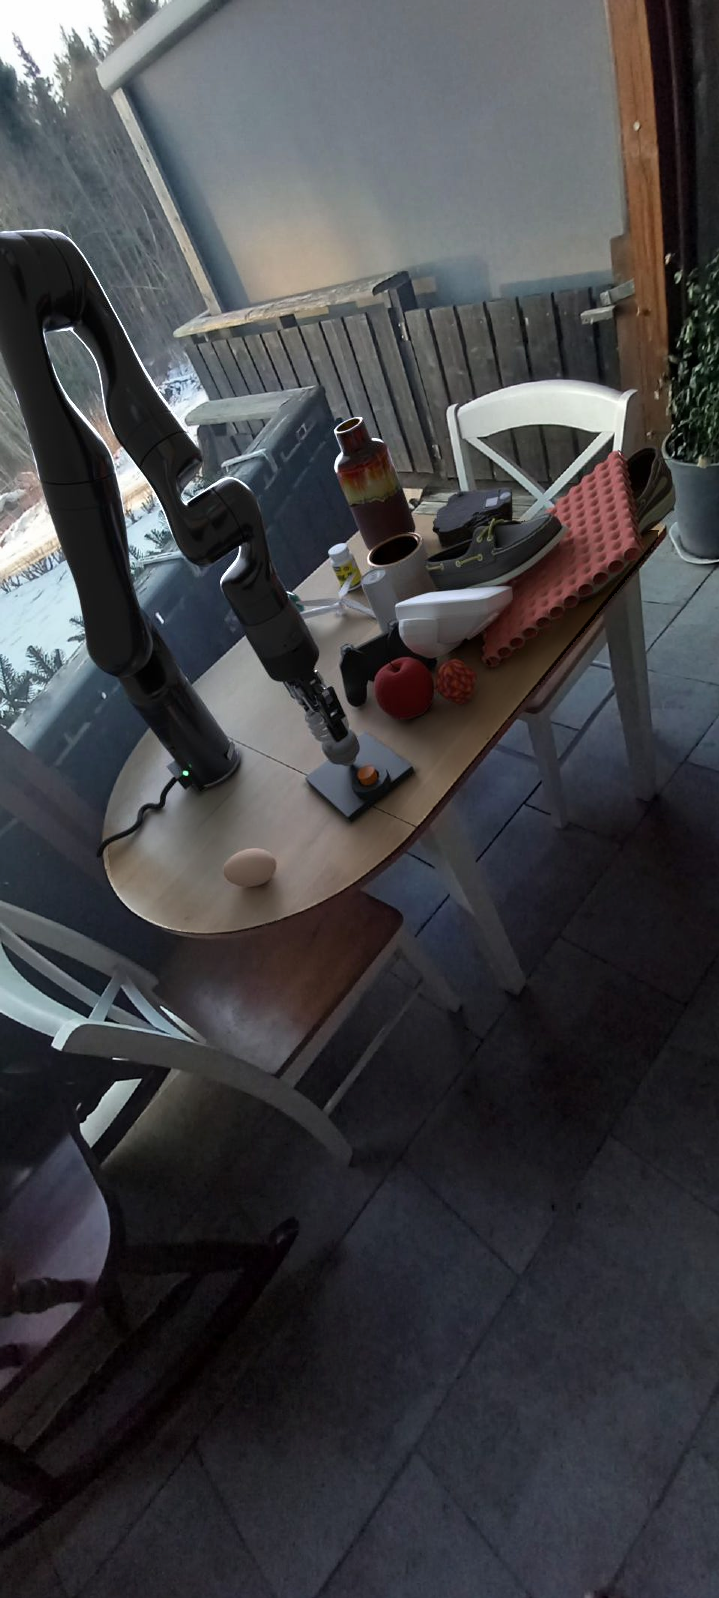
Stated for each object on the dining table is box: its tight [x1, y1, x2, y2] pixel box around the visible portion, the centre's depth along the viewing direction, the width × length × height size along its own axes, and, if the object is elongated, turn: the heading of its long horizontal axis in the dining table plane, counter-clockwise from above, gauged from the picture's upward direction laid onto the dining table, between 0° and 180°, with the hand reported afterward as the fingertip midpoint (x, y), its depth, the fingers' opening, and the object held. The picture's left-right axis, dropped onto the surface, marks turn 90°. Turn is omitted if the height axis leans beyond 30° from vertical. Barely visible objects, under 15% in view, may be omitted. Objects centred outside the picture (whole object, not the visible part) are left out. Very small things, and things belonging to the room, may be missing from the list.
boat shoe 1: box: [425, 513, 569, 592], centre depth 121 cm, size 11×29×9 cm, turn 58°
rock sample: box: [431, 486, 514, 548], centre depth 148 cm, size 18×16×5 cm
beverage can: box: [361, 568, 399, 634], centre depth 131 cm, size 5×5×12 cm
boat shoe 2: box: [578, 445, 677, 603], centre depth 122 cm, size 32×13×12 cm, turn 127°
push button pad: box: [304, 731, 416, 824], centre depth 111 cm, size 14×12×3 cm
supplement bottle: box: [328, 542, 363, 592], centre depth 150 cm, size 5×5×8 cm
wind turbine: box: [296, 572, 376, 620], centre depth 143 cm, size 4×14×21 cm
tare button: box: [357, 766, 378, 786], centre depth 106 cm, size 3×3×2 cm
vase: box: [333, 416, 417, 552], centre depth 147 cm, size 11×11×26 cm
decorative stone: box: [434, 658, 479, 706], centre depth 112 cm, size 6×7×8 cm
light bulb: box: [304, 709, 360, 767], centre depth 109 cm, size 6×6×12 cm
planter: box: [366, 532, 436, 603], centre depth 138 cm, size 11×11×10 cm
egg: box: [222, 847, 277, 888], centre depth 104 cm, size 5×5×8 cm
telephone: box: [395, 586, 513, 658], centre depth 119 cm, size 16×20×9 cm
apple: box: [373, 657, 435, 720], centre depth 115 cm, size 9×9×10 cm
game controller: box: [338, 619, 438, 708], centre depth 124 cm, size 16×7×10 cm, turn 107°
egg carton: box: [481, 449, 645, 668], centre depth 117 cm, size 28×28×2 cm
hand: (330, 729), depth 107 cm, fingers closed on light bulb, 5 cm apart
